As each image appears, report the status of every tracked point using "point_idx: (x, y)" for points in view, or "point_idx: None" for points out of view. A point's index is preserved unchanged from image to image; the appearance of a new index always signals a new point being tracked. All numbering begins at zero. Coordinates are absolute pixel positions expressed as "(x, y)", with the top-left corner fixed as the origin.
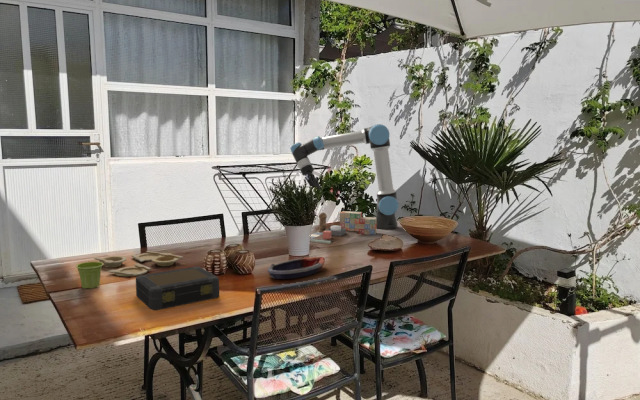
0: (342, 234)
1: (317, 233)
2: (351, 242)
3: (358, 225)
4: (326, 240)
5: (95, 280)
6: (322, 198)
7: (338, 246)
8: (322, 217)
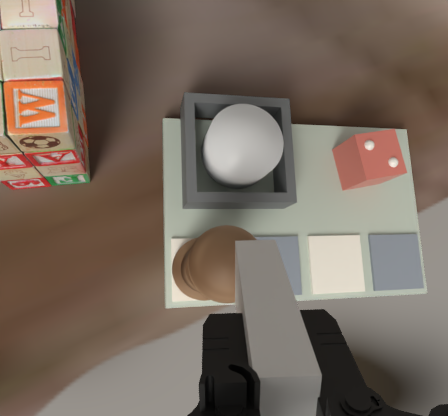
0: None
1: None
2: (321, 41)
3: (69, 22)
4: None
5: None
6: (281, 265)
7: (425, 78)
8: None
